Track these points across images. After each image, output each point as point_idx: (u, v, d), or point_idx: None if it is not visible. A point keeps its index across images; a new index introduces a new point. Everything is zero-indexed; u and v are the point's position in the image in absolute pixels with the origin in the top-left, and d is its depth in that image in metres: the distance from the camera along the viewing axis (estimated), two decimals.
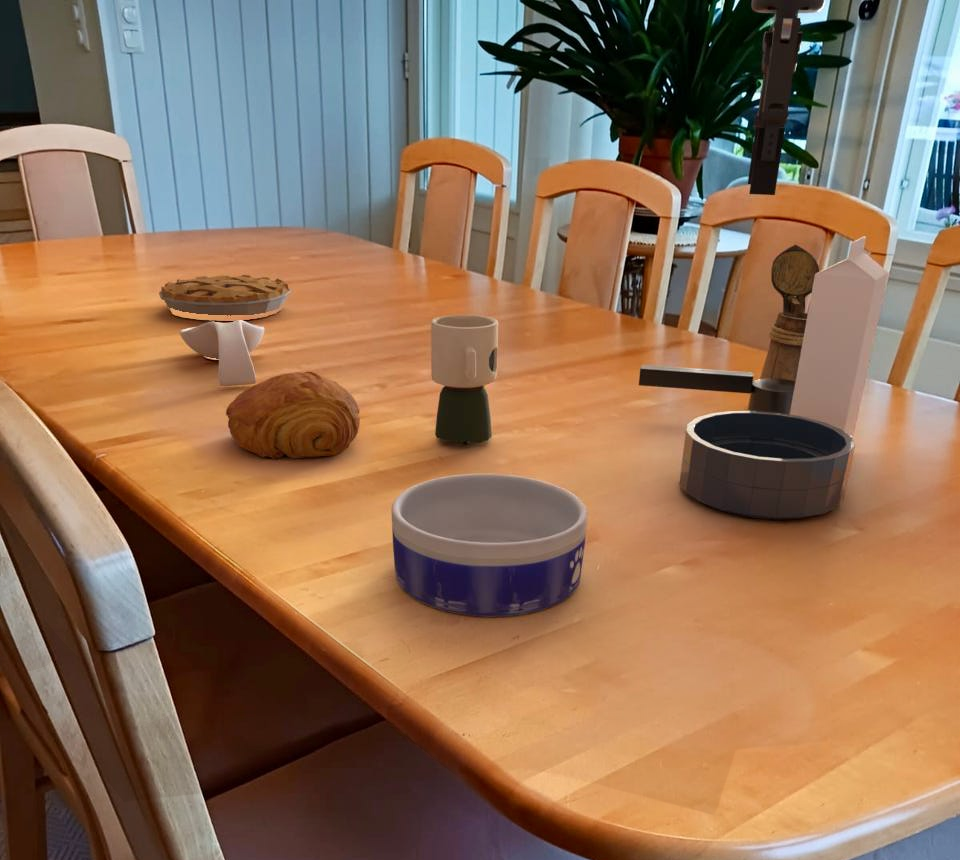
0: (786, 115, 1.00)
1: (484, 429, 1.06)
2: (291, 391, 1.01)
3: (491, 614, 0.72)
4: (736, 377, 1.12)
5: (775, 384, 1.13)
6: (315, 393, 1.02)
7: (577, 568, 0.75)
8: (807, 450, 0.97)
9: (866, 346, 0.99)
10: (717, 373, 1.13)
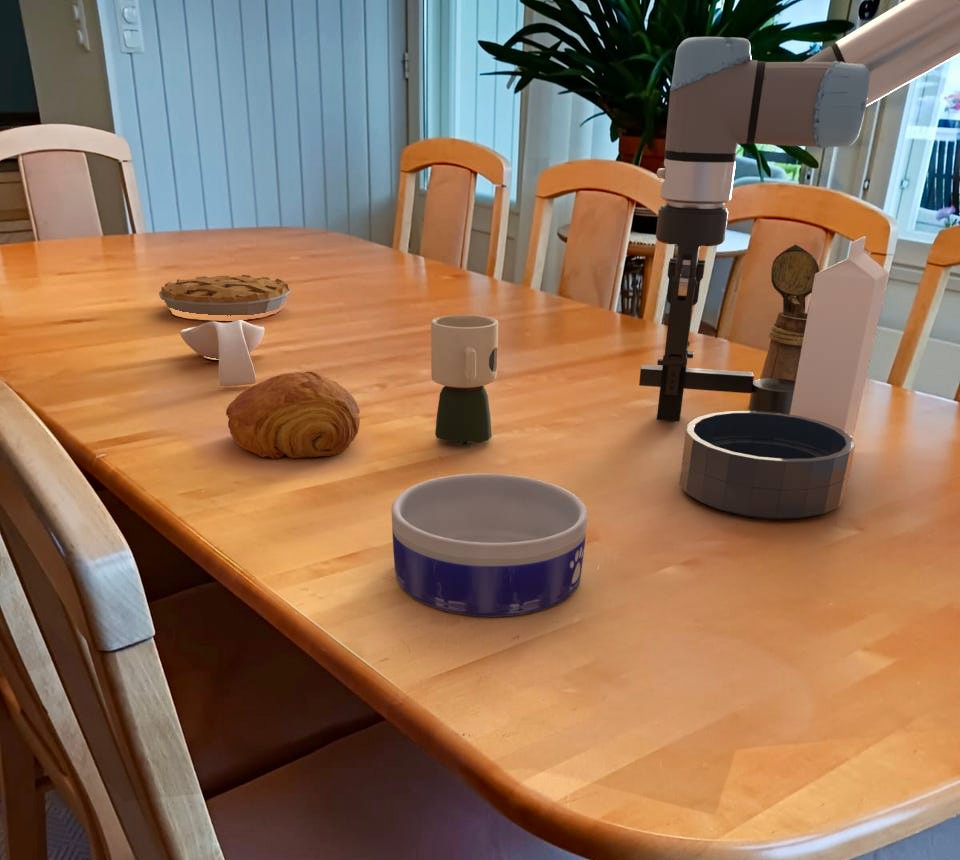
0: (684, 363, 1.10)
1: (484, 429, 1.06)
2: (291, 391, 1.01)
3: (491, 614, 0.72)
4: (737, 377, 1.12)
5: (775, 384, 1.13)
6: (316, 393, 1.02)
7: (577, 568, 0.75)
8: (807, 450, 0.97)
9: (866, 346, 0.99)
10: (717, 373, 1.13)
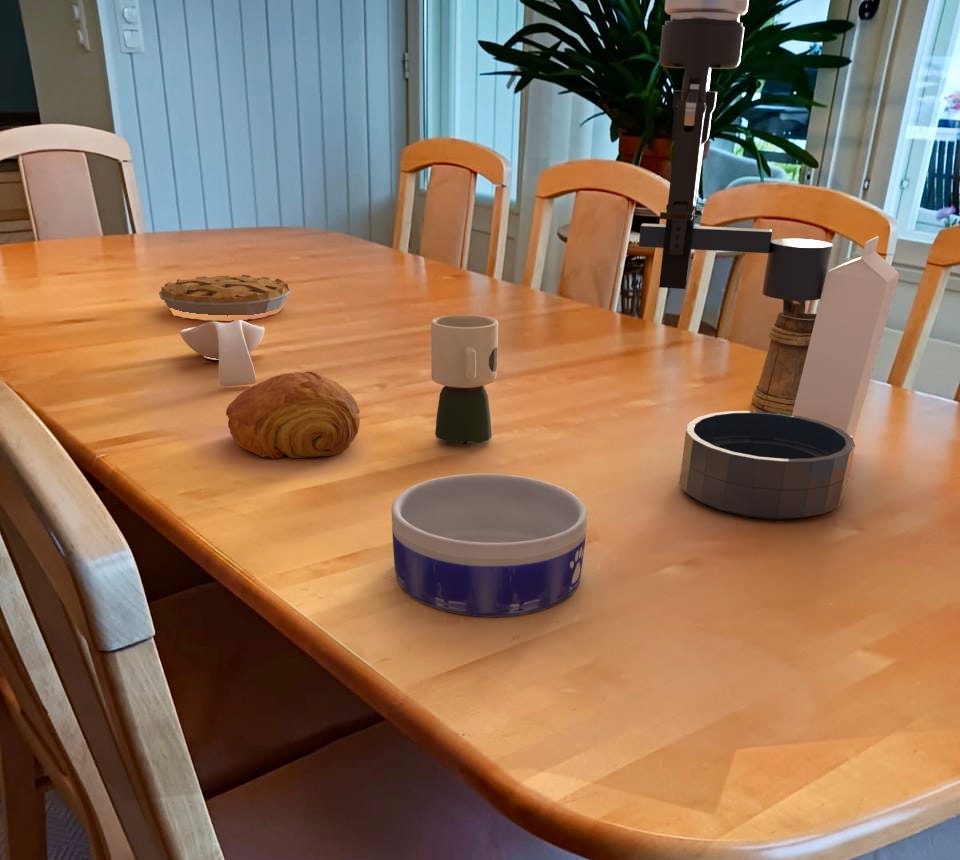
0: (691, 213, 0.94)
1: (484, 429, 1.06)
2: (291, 391, 1.01)
3: (491, 614, 0.72)
4: (752, 233, 0.97)
5: (797, 242, 0.97)
6: (315, 393, 1.02)
7: (577, 568, 0.75)
8: (807, 450, 0.97)
9: (873, 347, 0.99)
10: (730, 229, 0.97)
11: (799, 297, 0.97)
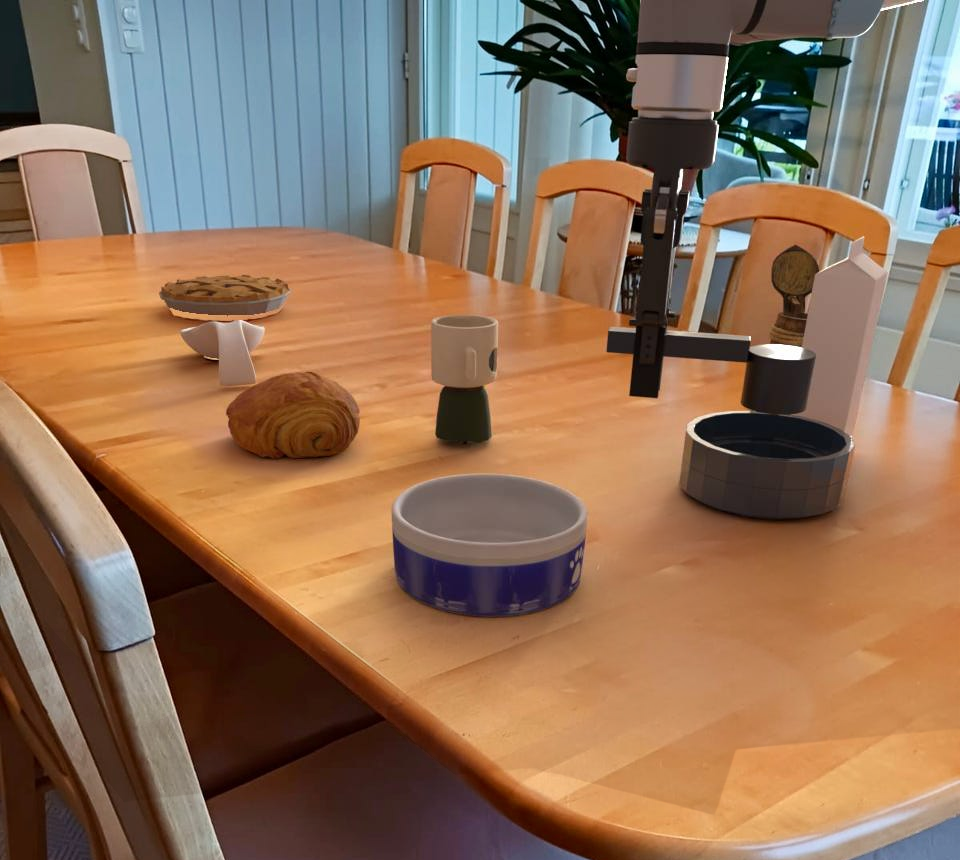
0: (663, 323, 0.86)
1: (484, 429, 1.06)
2: (291, 391, 1.01)
3: (491, 614, 0.72)
4: (729, 342, 0.89)
5: (778, 351, 0.89)
6: (315, 393, 1.02)
7: (577, 568, 0.75)
8: (807, 450, 0.97)
9: (866, 346, 0.99)
10: (705, 337, 0.89)
11: (780, 411, 0.89)
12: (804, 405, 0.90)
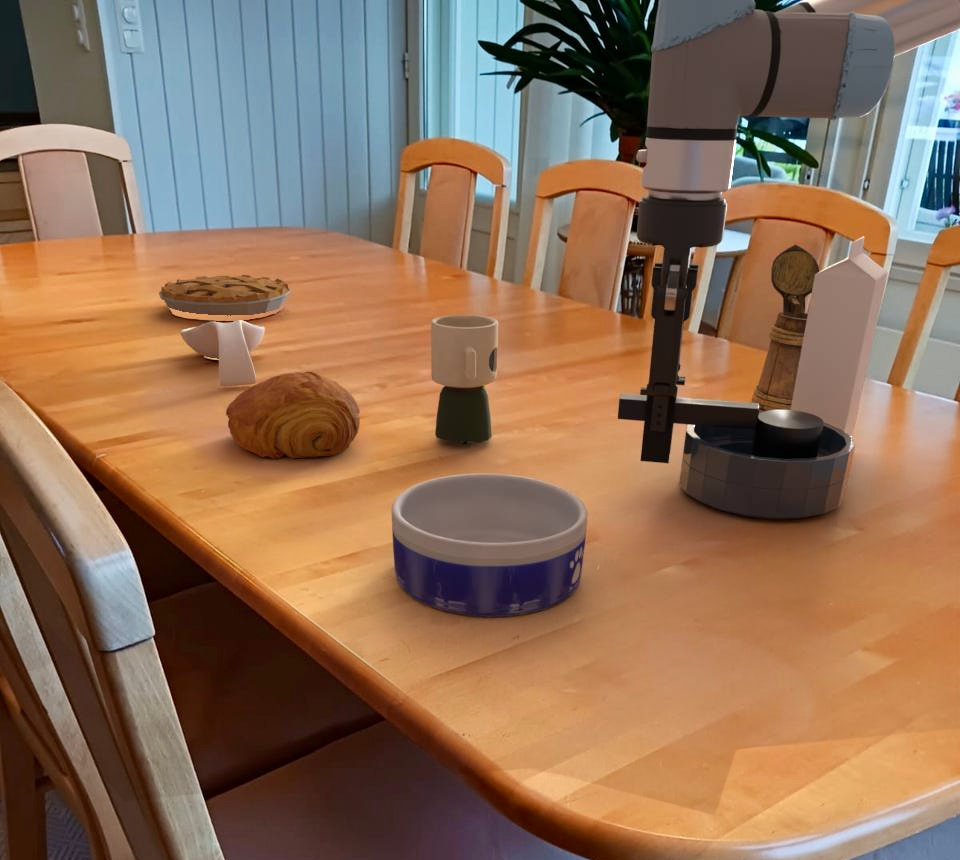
0: (673, 394, 0.88)
1: (484, 429, 1.06)
2: (291, 391, 1.01)
3: (491, 614, 0.72)
4: (738, 410, 0.91)
5: (786, 418, 0.91)
6: (315, 393, 1.02)
7: (577, 568, 0.75)
8: None
9: (866, 346, 0.99)
10: (714, 404, 0.91)
11: None
12: None
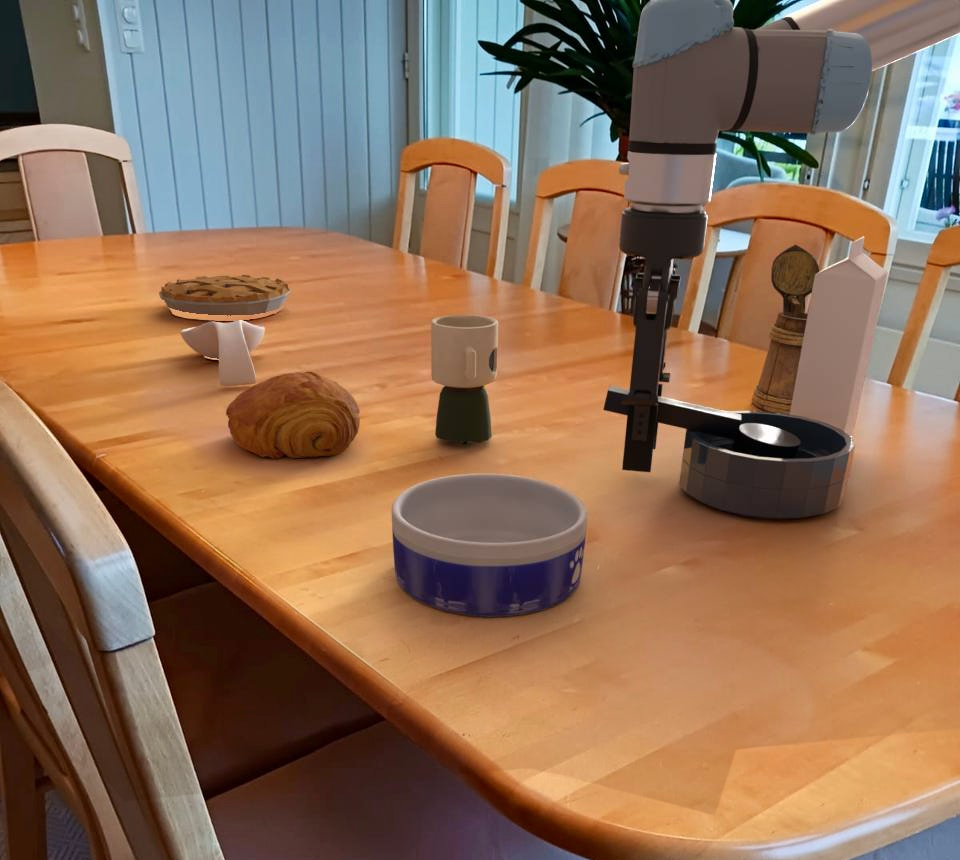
0: (654, 402, 0.87)
1: (484, 429, 1.06)
2: (291, 391, 1.01)
3: (491, 614, 0.72)
4: (721, 418, 0.92)
5: (765, 433, 0.93)
6: (315, 393, 1.02)
7: (577, 568, 0.75)
8: (807, 450, 0.97)
9: (866, 346, 0.99)
10: (699, 410, 0.93)
11: None
12: None
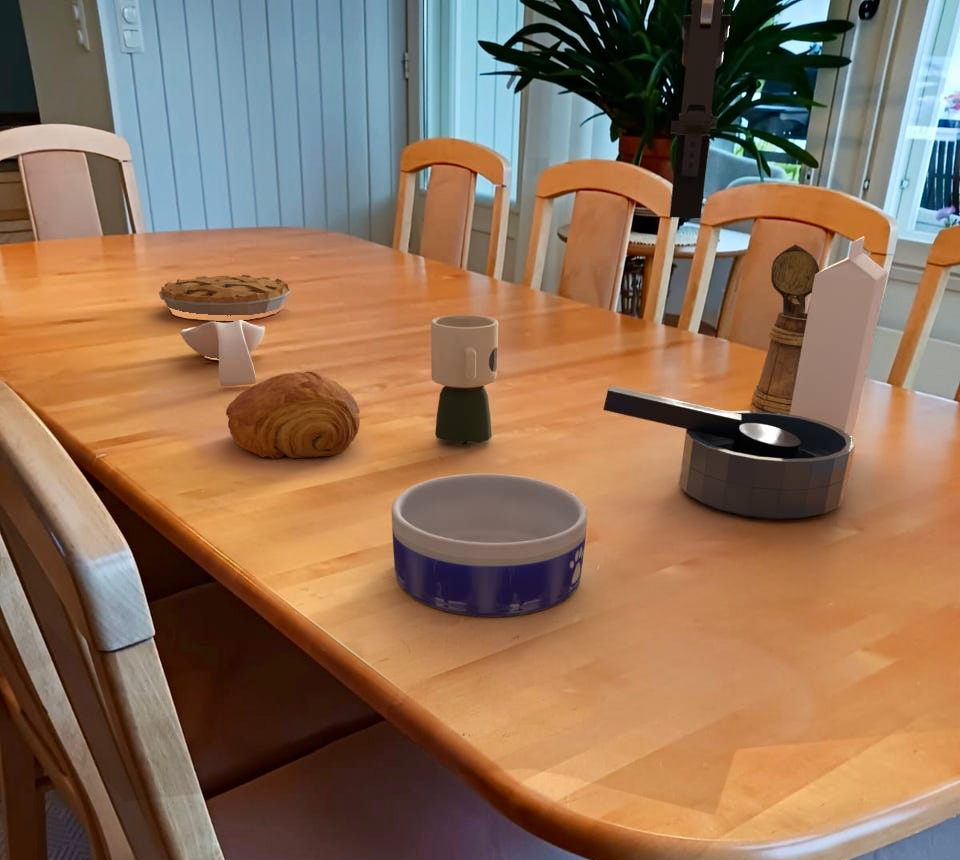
0: (709, 119, 0.79)
1: (484, 429, 1.06)
2: (291, 391, 1.01)
3: (491, 614, 0.72)
4: (721, 418, 0.92)
5: (765, 433, 0.93)
6: (316, 393, 1.02)
7: (577, 568, 0.75)
8: (807, 450, 0.97)
9: (866, 346, 0.99)
10: (699, 410, 0.93)
11: None
12: None
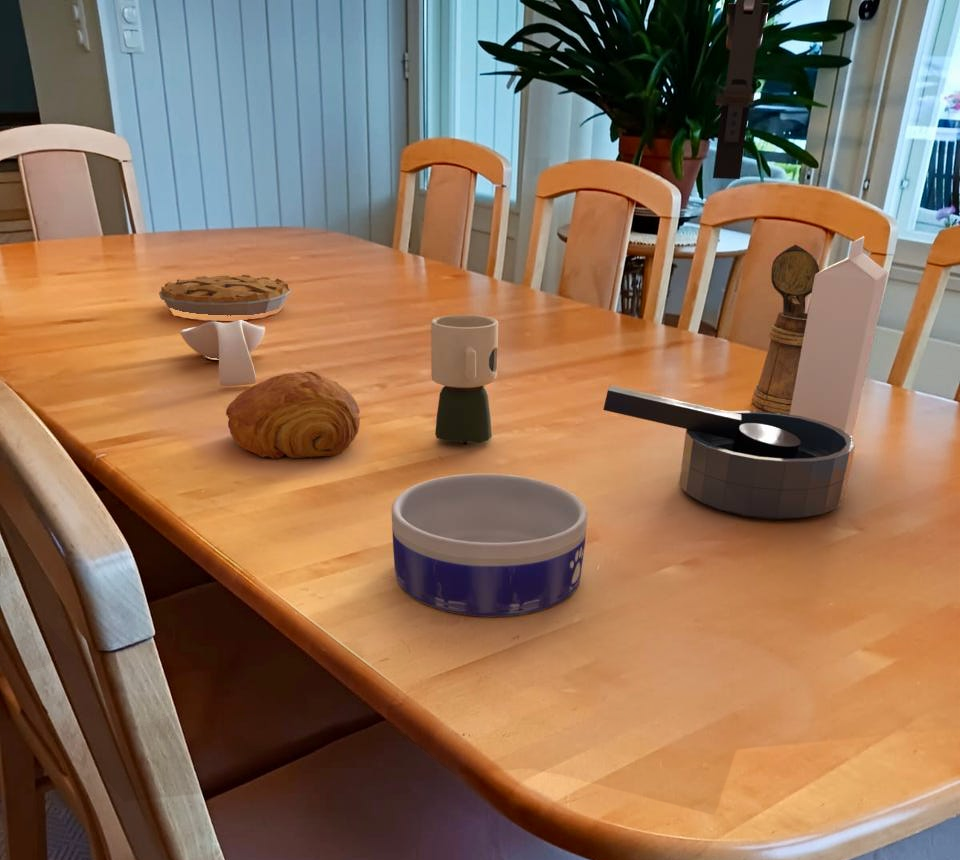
0: (749, 92, 0.93)
1: (484, 429, 1.06)
2: (291, 391, 1.01)
3: (491, 614, 0.72)
4: (721, 418, 0.92)
5: (765, 433, 0.93)
6: (316, 393, 1.02)
7: (577, 568, 0.75)
8: (807, 450, 0.97)
9: (866, 346, 0.99)
10: (699, 410, 0.93)
11: None
12: None
